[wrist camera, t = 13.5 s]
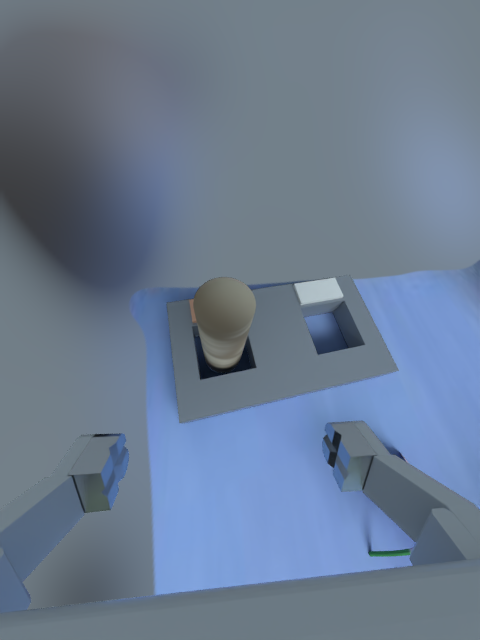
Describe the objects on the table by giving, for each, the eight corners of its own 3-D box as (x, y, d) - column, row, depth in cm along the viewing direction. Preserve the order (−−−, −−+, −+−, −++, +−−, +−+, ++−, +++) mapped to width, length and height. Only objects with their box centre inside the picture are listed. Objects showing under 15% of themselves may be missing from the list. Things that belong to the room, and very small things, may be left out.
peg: (224, 332, 26) (228, 267, 16) (247, 357, 25) (268, 306, 15) (197, 353, 25) (180, 298, 14) (220, 381, 24) (221, 344, 13)
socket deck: (338, 288, 30) (351, 272, 27) (380, 376, 26) (401, 369, 23) (171, 315, 27) (165, 300, 24) (184, 423, 22) (178, 423, 19)
